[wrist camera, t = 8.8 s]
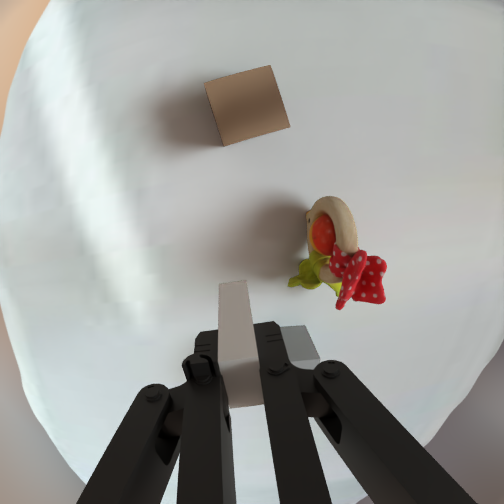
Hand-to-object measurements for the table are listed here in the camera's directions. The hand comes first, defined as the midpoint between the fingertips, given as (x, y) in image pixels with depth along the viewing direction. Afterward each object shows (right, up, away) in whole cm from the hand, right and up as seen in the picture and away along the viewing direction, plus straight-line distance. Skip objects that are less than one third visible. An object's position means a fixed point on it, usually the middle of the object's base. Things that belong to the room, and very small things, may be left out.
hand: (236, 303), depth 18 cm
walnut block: (0, +15, +8) cm, 17 cm away
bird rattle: (+7, +4, +12) cm, 15 cm away
